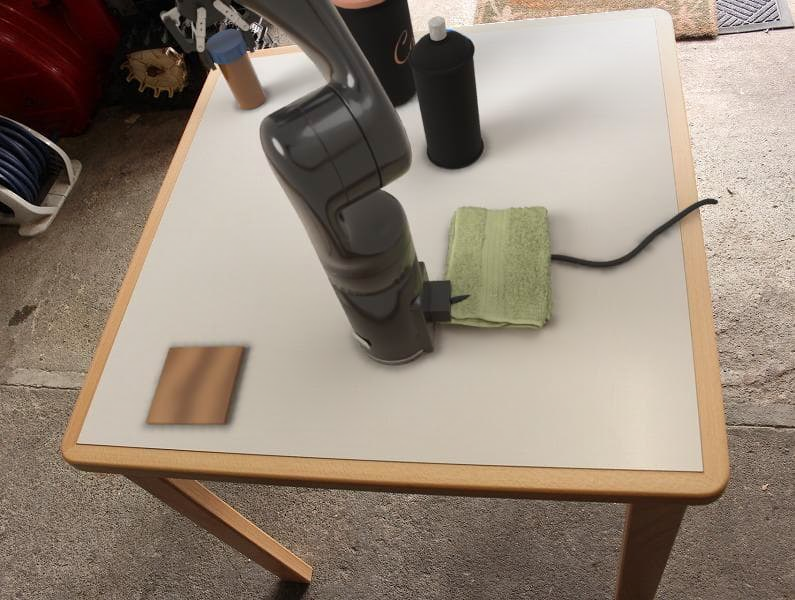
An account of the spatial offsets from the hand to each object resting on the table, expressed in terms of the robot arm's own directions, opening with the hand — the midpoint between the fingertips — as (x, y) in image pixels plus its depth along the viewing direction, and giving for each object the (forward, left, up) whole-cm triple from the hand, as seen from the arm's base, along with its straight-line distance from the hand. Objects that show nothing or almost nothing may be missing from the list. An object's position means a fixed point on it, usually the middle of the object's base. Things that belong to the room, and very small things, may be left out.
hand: (232, 58), depth 97 cm
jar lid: (0, 0, +3) cm, 3 cm away
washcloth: (-41, +38, -8) cm, 56 cm away
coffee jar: (-24, +1, -8) cm, 25 cm away
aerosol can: (-35, +16, -8) cm, 39 cm away
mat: (-5, +53, -8) cm, 54 cm away
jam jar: (0, 0, -8) cm, 8 cm away
